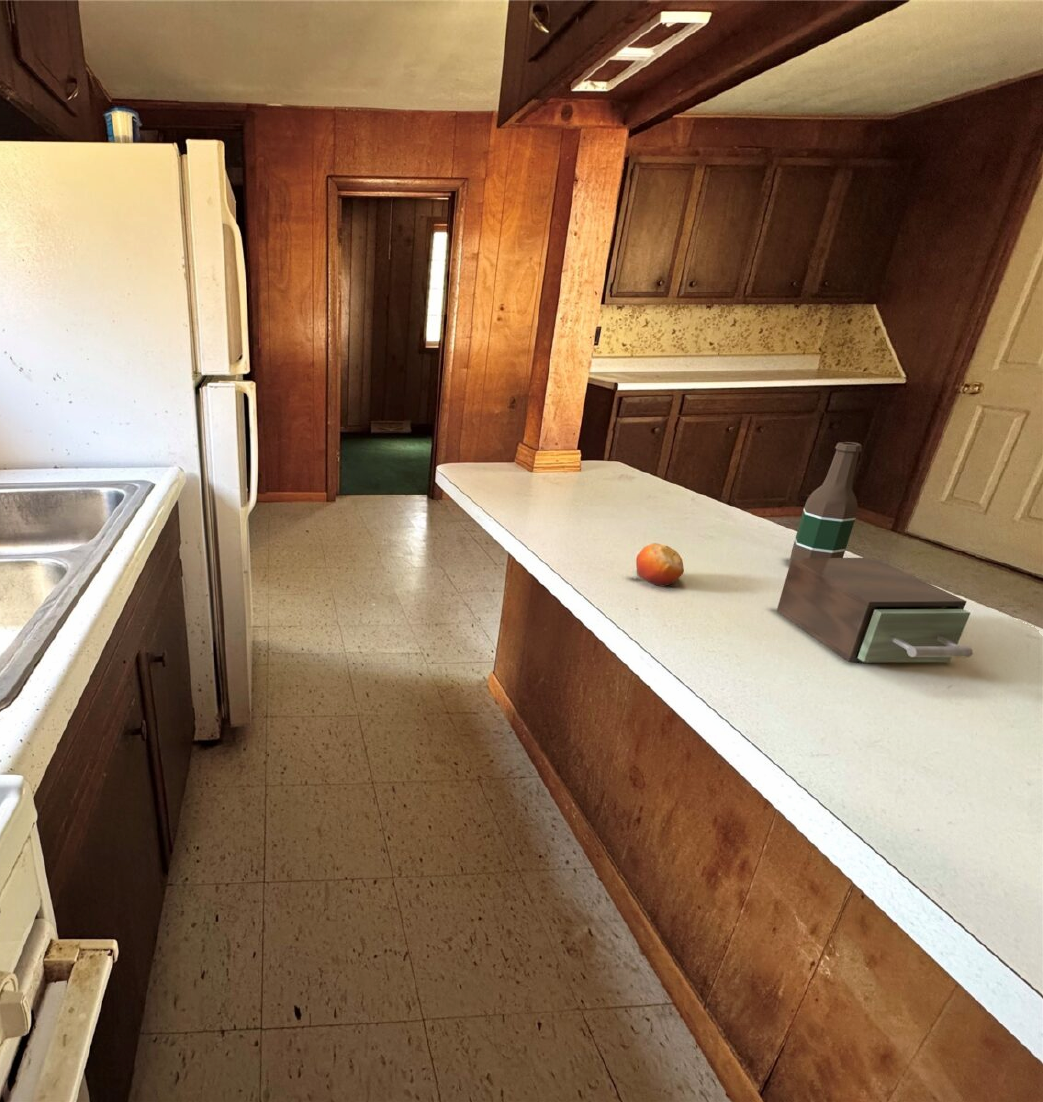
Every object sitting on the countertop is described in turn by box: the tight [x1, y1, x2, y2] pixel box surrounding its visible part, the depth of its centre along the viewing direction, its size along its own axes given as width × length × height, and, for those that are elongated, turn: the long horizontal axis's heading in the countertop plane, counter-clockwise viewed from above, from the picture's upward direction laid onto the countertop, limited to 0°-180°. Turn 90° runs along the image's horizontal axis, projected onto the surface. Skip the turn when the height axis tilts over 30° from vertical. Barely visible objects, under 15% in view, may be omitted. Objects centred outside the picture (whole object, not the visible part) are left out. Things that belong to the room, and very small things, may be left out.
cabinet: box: [776, 557, 967, 663], centre depth 92 cm, size 16×13×10 cm
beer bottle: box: [789, 441, 863, 561], centre depth 112 cm, size 8×8×24 cm
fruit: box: [633, 542, 685, 587], centre depth 112 cm, size 8×8×8 cm
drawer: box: [858, 607, 974, 663], centre depth 88 cm, size 19×11×8 cm, turn 177°
